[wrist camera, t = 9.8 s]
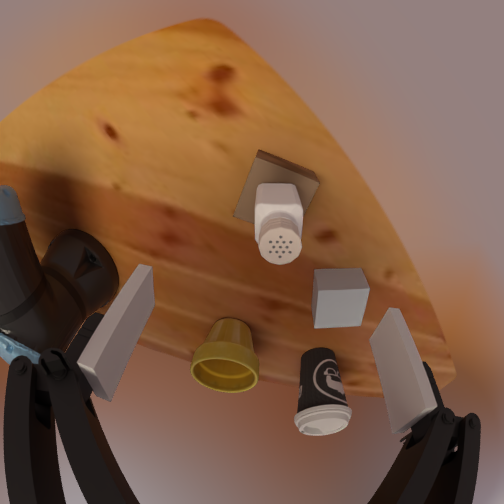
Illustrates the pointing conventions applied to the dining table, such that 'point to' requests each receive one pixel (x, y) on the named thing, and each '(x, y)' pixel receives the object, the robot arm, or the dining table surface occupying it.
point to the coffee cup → (321, 395)
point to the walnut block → (274, 171)
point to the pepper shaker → (278, 222)
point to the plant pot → (226, 358)
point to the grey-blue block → (339, 297)
